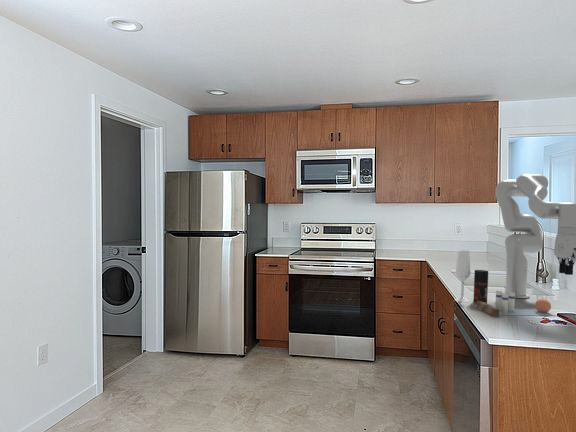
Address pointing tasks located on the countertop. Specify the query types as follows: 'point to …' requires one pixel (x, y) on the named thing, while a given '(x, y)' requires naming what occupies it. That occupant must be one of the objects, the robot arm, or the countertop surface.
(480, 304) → the back wall
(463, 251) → the champagne flute
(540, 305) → the ball
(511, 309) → the pin front
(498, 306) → the pin
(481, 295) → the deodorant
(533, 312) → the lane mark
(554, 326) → the countertop surface
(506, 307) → the pin
